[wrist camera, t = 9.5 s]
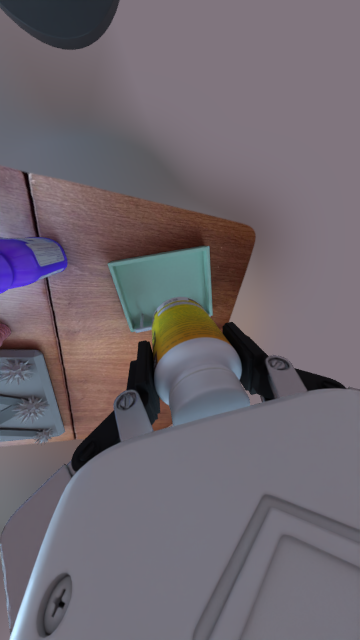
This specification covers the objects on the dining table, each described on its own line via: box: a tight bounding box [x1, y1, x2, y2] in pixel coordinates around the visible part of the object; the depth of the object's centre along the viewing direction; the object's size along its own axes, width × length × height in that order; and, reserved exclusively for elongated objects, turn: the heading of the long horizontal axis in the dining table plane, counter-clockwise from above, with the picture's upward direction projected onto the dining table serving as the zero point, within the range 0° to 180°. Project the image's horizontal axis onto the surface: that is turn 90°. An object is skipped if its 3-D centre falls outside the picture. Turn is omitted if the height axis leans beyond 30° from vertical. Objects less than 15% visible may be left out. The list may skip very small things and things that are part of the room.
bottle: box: [0, 237, 67, 294], centre depth 20 cm, size 7×6×17 cm
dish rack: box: [108, 246, 213, 333], centre depth 31 cm, size 14×18×7 cm
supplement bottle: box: [152, 297, 250, 426], centre depth 12 cm, size 6×6×10 cm
